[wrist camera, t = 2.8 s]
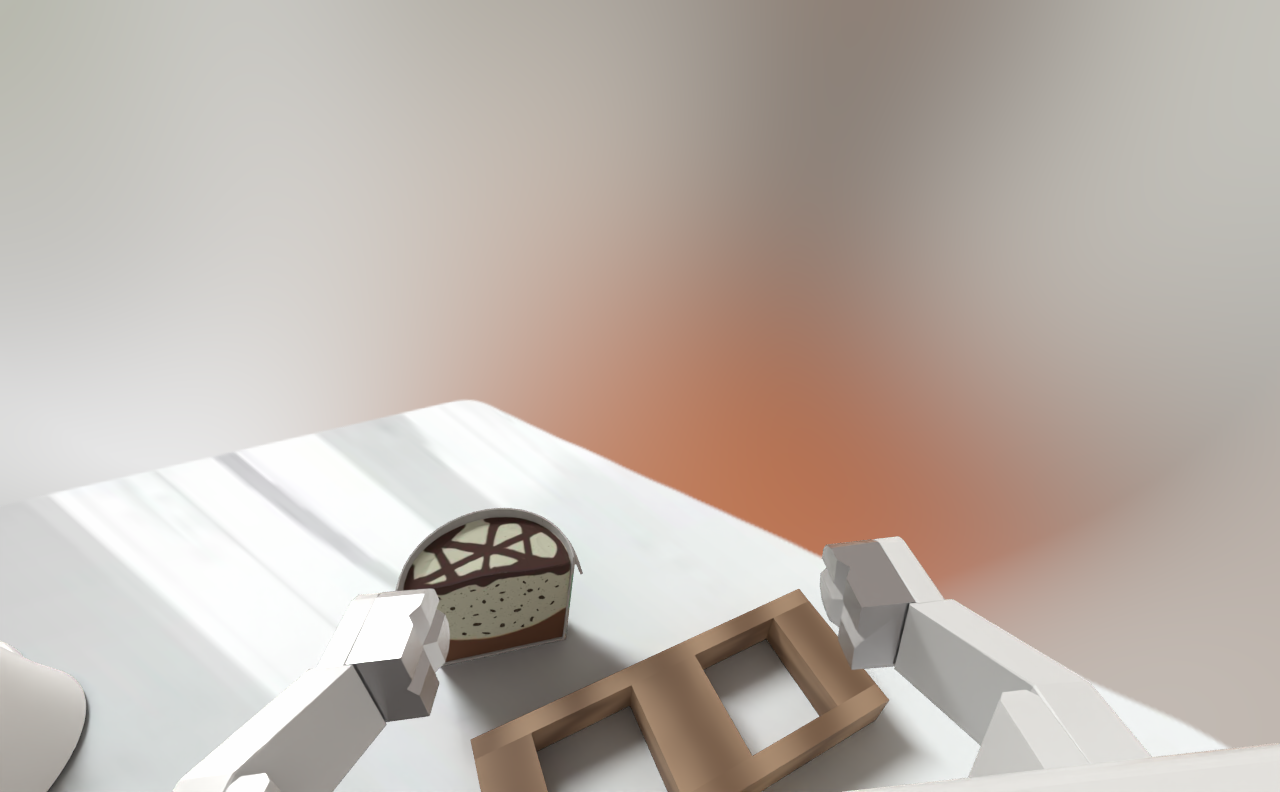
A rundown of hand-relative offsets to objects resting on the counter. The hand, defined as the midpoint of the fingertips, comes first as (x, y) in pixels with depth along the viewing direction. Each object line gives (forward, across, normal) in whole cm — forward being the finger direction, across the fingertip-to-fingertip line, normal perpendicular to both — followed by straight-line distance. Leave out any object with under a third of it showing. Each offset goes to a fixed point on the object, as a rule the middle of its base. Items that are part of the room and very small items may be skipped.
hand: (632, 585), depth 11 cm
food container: (+22, +12, +27) cm, 36 cm away
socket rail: (+12, -1, +29) cm, 32 cm away
